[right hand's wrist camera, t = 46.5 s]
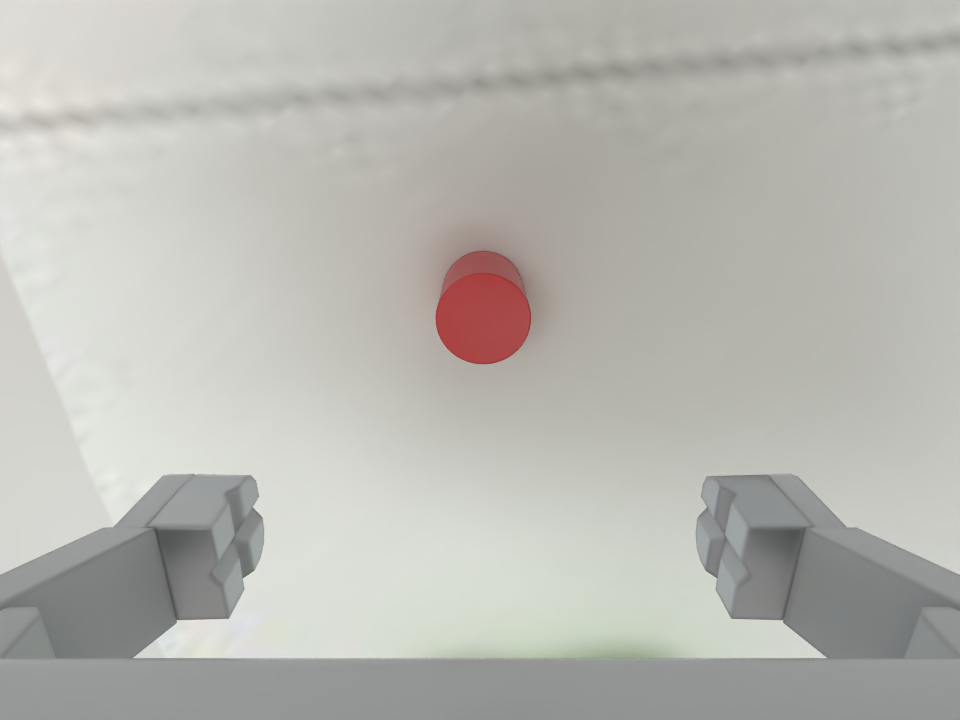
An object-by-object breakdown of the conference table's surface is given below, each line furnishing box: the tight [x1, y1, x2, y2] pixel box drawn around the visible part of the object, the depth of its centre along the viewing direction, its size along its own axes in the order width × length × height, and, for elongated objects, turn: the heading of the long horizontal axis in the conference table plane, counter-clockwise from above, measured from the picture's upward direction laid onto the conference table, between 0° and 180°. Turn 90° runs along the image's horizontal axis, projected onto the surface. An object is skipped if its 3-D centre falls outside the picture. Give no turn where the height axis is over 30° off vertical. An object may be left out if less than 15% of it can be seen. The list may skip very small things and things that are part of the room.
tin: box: [436, 251, 531, 364], centre depth 23 cm, size 4×4×4 cm
